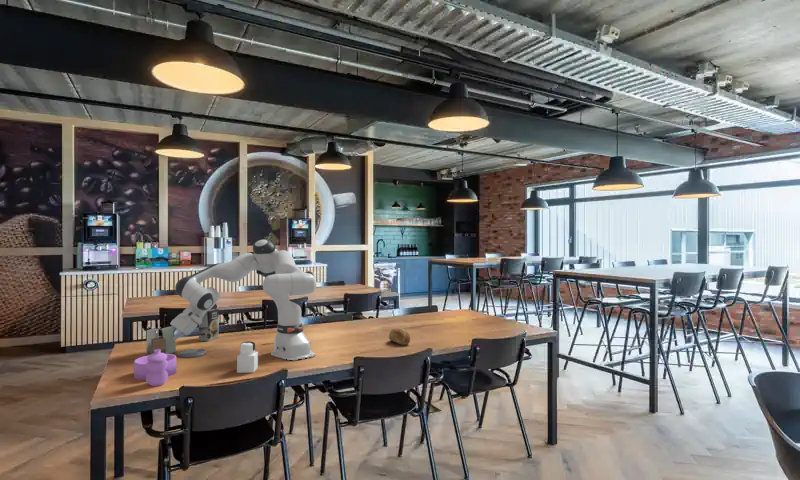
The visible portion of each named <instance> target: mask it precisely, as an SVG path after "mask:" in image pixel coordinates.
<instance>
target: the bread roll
mask: <svg viewBox="0 0 800 480" xmlns="http://www.w3.org/2000/svg"><path fill="white" fill-rule="evenodd" d="M388 339H389V341H391V342H393V343H396V344H397V345H398V344H399V345H402V346H404V345H405V346H406V345H409V344H410V341H411V337H410V334H409V332H408V331H407V330H406V329H404V328H401V327H398V328H396V327H395V328H392V329H391V330H390V332H389V335H388Z"/></svg>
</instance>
